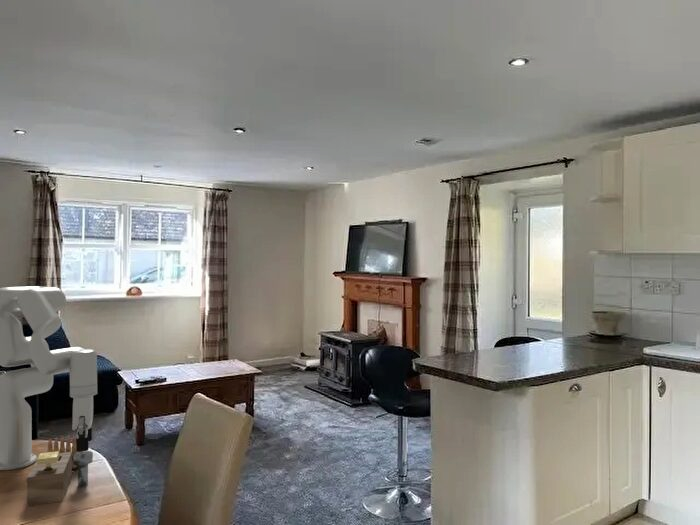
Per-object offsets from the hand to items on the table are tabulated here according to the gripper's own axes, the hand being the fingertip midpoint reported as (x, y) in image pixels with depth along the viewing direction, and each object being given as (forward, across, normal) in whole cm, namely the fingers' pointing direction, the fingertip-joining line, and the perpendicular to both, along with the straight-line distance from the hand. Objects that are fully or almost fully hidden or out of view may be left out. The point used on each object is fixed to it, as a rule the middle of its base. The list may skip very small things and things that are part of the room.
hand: (84, 446), depth 160 cm
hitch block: (+12, 0, -9) cm, 15 cm away
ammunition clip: (+12, -14, -7) cm, 20 cm away
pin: (+12, -1, -1) cm, 12 cm away
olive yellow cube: (+4, +5, -9) cm, 11 cm away
